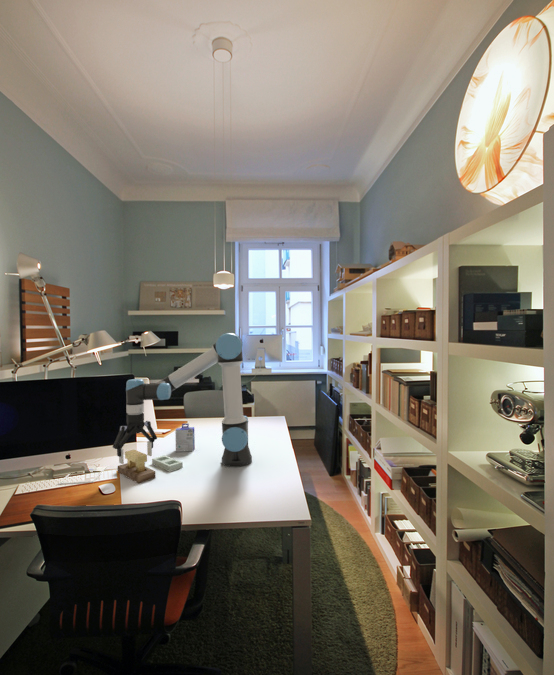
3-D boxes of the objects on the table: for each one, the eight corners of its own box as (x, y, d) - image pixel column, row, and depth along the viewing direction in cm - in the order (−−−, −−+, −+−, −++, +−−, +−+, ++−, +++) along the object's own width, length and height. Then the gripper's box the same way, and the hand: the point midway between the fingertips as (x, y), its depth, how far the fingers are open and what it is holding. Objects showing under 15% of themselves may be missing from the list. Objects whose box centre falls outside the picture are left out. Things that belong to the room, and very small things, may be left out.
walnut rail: (155, 477, 166) (155, 471, 166) (138, 483, 160) (138, 476, 160) (133, 467, 179) (133, 461, 179) (117, 472, 173) (117, 465, 173)
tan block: (147, 476, 167) (146, 454, 167) (138, 479, 164) (137, 457, 164) (134, 470, 175) (134, 449, 175) (125, 473, 172) (125, 451, 172)
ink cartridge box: (195, 448, 209) (194, 422, 209) (193, 451, 203) (193, 425, 203) (177, 449, 208) (176, 423, 208) (175, 452, 202) (175, 425, 202)
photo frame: (106, 466, 179) (93, 480, 162) (106, 468, 179) (93, 483, 162) (75, 468, 178) (57, 482, 160) (75, 470, 178) (57, 485, 160)
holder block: (182, 467, 179) (182, 462, 179) (169, 471, 173) (169, 466, 173) (164, 460, 189) (164, 455, 189) (152, 463, 184) (152, 458, 184)
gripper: (155, 407, 181) (156, 451, 181) (104, 416, 163) (104, 464, 163) (164, 409, 176) (164, 454, 176) (111, 419, 158) (112, 468, 158)
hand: (135, 459), depth 169 cm, fingers open, 13 cm apart
